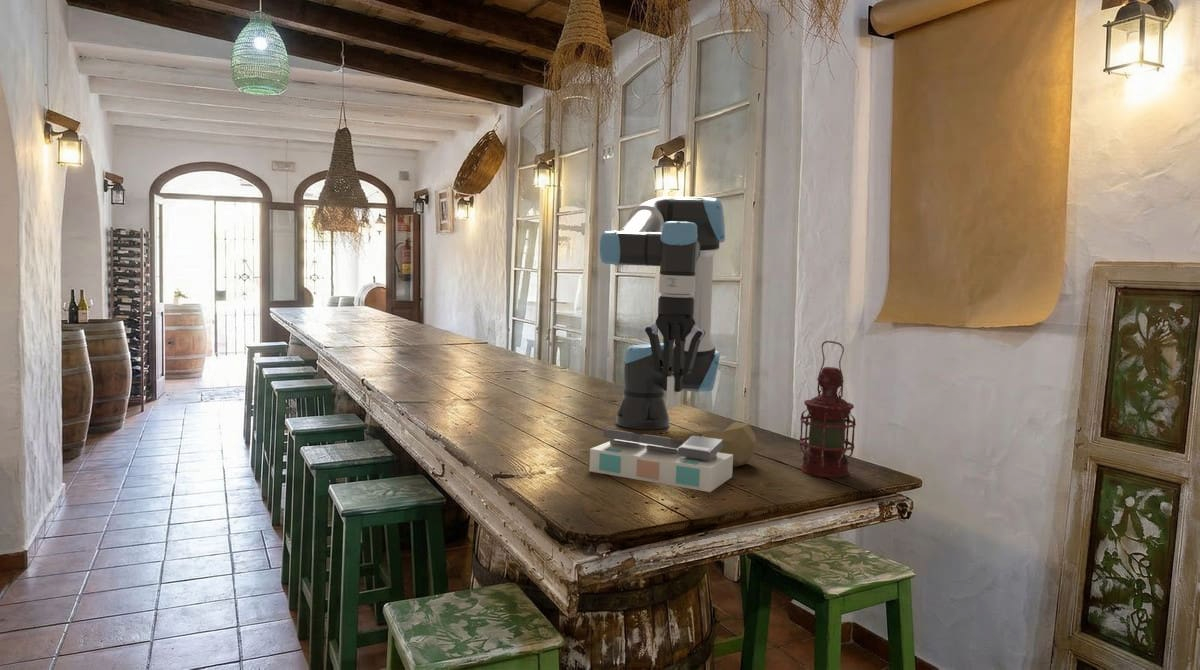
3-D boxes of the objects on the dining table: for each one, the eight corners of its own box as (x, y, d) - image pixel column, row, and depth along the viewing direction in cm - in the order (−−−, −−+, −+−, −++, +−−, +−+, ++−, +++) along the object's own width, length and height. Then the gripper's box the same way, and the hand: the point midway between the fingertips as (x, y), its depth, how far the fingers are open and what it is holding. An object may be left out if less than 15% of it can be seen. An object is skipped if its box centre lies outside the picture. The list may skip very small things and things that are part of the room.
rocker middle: (653, 444, 180) (655, 436, 180) (682, 449, 177) (684, 440, 177) (639, 442, 173) (640, 433, 173) (669, 447, 169) (670, 437, 170)
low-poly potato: (757, 461, 192) (719, 433, 197) (774, 428, 186) (734, 400, 191) (724, 489, 181) (685, 459, 186) (740, 455, 175) (699, 425, 180)
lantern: (786, 466, 186) (794, 338, 183) (829, 463, 190) (837, 338, 188) (819, 480, 175) (827, 344, 172) (864, 477, 179) (873, 344, 176)
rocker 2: (692, 443, 176) (692, 434, 175) (722, 447, 173) (722, 438, 172) (678, 455, 169) (678, 446, 169) (709, 460, 166) (709, 451, 165)
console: (617, 458, 188) (618, 433, 187) (732, 477, 175) (733, 450, 175) (588, 471, 175) (589, 444, 175) (709, 492, 163) (711, 463, 162)
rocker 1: (618, 439, 184) (619, 431, 184) (645, 443, 181) (646, 435, 181) (602, 437, 177) (604, 428, 177) (631, 441, 174) (632, 432, 174)
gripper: (640, 294, 167) (636, 405, 170) (700, 298, 162) (694, 412, 164) (654, 293, 174) (650, 400, 176) (711, 296, 168) (706, 407, 171)
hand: (671, 406), depth 170 cm, fingers closed
